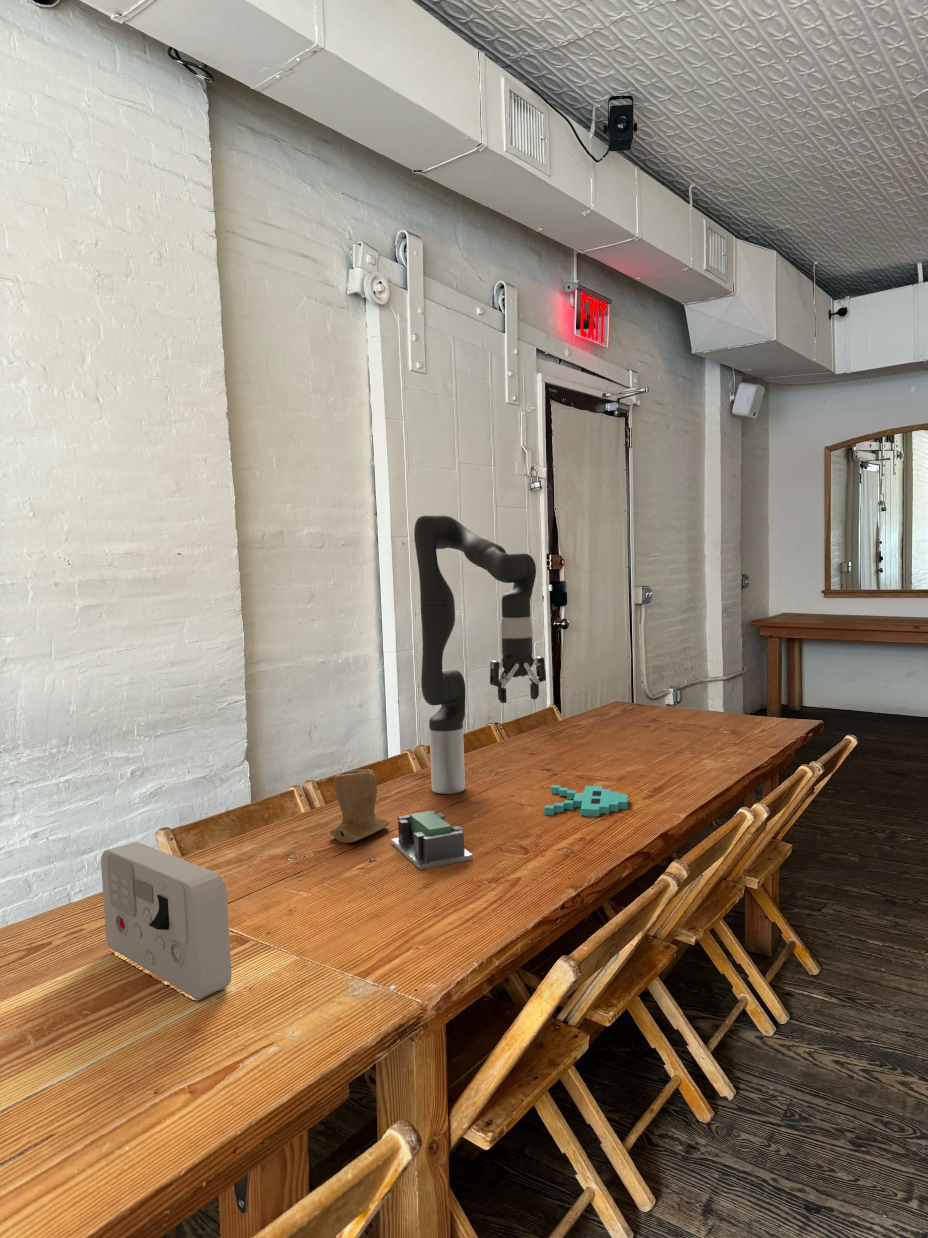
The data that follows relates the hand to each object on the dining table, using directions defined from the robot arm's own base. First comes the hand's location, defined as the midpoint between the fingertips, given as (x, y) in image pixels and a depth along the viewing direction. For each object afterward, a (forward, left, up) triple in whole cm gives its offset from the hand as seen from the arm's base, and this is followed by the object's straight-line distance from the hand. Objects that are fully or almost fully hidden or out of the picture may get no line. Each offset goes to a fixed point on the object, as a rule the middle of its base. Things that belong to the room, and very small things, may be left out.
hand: (518, 700), depth 205 cm
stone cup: (-5, -41, -28) cm, 50 cm away
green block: (+14, -30, -24) cm, 41 cm away
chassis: (+14, -30, -28) cm, 43 cm away
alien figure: (+2, +18, -29) cm, 34 cm away
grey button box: (+43, -87, -28) cm, 101 cm away
